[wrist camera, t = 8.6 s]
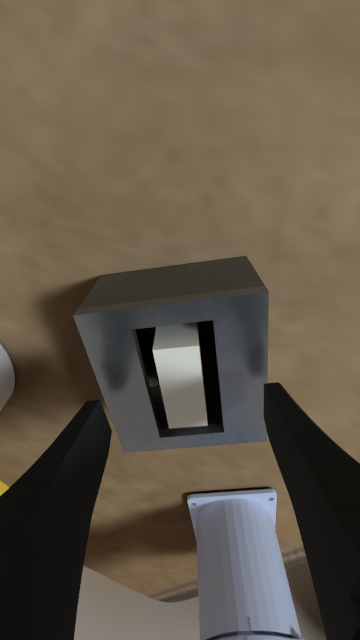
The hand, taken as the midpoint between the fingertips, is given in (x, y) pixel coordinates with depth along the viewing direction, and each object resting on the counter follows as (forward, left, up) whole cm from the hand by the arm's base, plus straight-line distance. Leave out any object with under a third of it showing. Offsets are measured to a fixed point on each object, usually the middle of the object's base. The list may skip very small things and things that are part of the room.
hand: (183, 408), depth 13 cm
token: (0, 0, -6) cm, 6 cm away
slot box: (0, 0, -6) cm, 6 cm away
